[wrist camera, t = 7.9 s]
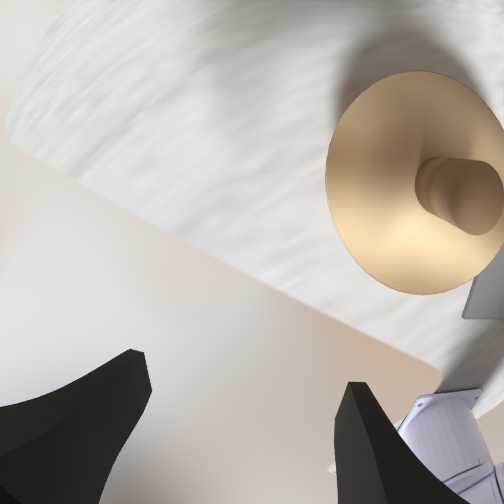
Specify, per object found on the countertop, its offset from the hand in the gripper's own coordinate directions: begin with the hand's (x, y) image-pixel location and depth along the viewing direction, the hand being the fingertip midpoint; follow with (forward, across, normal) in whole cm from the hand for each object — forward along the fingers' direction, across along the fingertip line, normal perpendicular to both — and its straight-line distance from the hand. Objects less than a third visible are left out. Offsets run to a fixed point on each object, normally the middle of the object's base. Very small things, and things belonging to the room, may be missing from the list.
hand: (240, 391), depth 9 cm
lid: (+7, -8, -7) cm, 13 cm away
